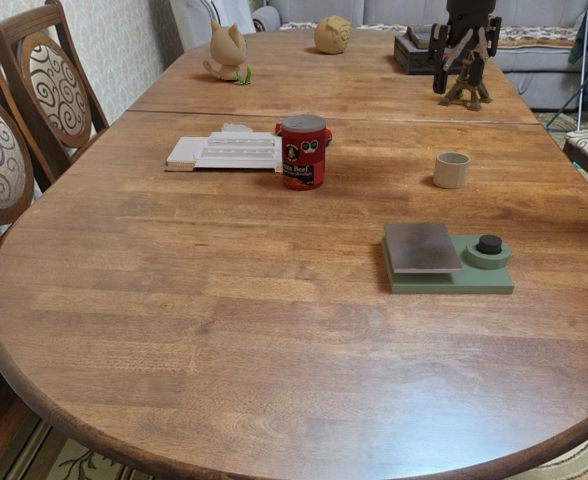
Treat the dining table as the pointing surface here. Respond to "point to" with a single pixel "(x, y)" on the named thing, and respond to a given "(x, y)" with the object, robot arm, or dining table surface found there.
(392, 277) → the scale
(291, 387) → the dining table surface
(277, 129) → the race car
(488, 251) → the tare button
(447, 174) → the cup
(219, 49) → the kitten
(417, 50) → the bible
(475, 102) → the eiffel tower
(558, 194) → the dining table surface
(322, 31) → the sculpture
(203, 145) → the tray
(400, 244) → the platform
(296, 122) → the canned food
